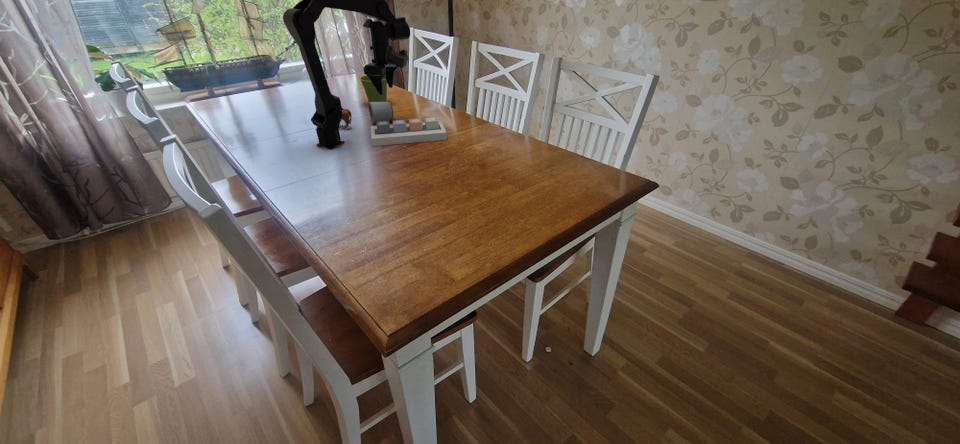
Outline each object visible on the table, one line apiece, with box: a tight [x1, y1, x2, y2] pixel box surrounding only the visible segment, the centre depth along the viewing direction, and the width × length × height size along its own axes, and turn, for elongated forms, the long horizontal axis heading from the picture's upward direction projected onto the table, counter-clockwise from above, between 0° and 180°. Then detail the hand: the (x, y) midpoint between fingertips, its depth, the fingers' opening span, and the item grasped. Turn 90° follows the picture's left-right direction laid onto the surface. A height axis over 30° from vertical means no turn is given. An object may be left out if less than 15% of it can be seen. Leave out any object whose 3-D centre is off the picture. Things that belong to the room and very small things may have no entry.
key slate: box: [392, 119, 407, 133], centre depth 129 cm, size 4×4×3 cm
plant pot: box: [359, 74, 388, 103], centre depth 159 cm, size 12×12×11 cm
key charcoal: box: [375, 121, 391, 134], centre depth 128 cm, size 4×4×3 cm
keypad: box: [370, 120, 448, 147], centre depth 131 cm, size 25×12×3 cm, turn 105°
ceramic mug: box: [368, 101, 394, 124], centre depth 144 cm, size 11×8×8 cm
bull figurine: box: [340, 108, 353, 131], centre depth 137 cm, size 4×13×8 cm, turn 71°
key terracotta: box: [408, 118, 423, 132], centre depth 130 cm, size 4×4×3 cm
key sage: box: [423, 116, 439, 130], centre depth 131 cm, size 4×4×3 cm
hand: (386, 91), depth 131 cm, fingers open, 9 cm apart
